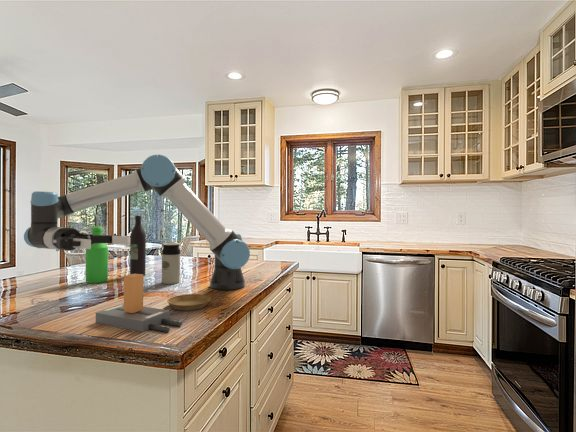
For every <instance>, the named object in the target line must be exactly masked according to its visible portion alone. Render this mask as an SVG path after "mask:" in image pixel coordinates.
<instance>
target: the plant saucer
mask: <svg viewBox="0 0 576 432" xmlns="http://www.w3.org/2000/svg"><path fill="white" fill-rule="evenodd" d="M211 299H212V298H211V296H209V295H207V294H198V293H192V294H191V293H188V294H187V293H186V294H180V295H175V296H172V297H170V298H168V299H166V300H167V304H168V305H170V307H171V308H172V309H174V310H178V311H195V310H200V309H203V308H205V307H206V306H207V305H208V304H209V303H210V301H211Z"/></svg>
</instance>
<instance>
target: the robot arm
mask: <svg viewBox="0 0 576 432" xmlns="http://www.w3.org/2000/svg"><path fill="white" fill-rule="evenodd" d="M185 180H186V179H185V175H183V173H181V172H180V170H179V169H178V168H177V167H176V165H175V164H174V161H172V159H170V158H169V157H168V156H165V155H163V154H153V155H149V156H148V157H147V158H146V159H145V160H143V162H142V164H141V167H138V168H136V169H135V170H134V171H133V172H132V173H130V174H126V175H122V176H119V177H117V178H113V179H110V180H107V181H104V182H100V183H97V184H95V185H91V186H89V187H84V188H82V189H79V190H75V191H72V192H70V193H67V194H62V195H60V196H59V195H58V193H57V192H55V191H33V192H31V197H30V198H31V199H30V226H29V227H28V228H26V230H25V232H24V233H23V239H24V242H25V244H26V245H28V246H29V247H33V248H37V249H49V250H55V251H56V252H60V250H61V251H67V252H69V251H74V250H77V249H81V250H82V249H83V250H86V249H91V245H92V244H94V243H105V244H112V245H121V246H122V245H123V246H129V245H130V243H129V242H130V241H129V240H130V236H123V235H118V234H117V233H113V234H112V235H110V234H102V235H93V234H91V233H90V234H89V233H87V234H86V233H80V231H79V230H78V229H76V228H74V227H63V226H58V225H59V223H58V222H59V221H58V219H62V218H65V217H67V216H68V215H71V214H74V213H78V212H80V211H83V210H84V211H85V210H86V209H89V208H93V207H95V206H98V205H101V204H105V203H108V202H110V201H111V202H112V201H114V200H117V199H120V198H122V197H126V196H128V195H132V194H135V193H137V192H143V193H146V192H149V191H153V190H154V192H155V193H156V194H158V195H159V196H160V198H166V199H168V201H170V203H171V204H172V205H173V206H174V207H175V208H176V209H177V210H178V211H179V212H180V214H182V215H183V216H184V218H186V220H187V221H188V222H189V223H190V224H191V225H192V226H193V228H195V229H196V231H197V232H198V233H199V234H200V235H201V236H202V237H203V238H204V239H205V240H206V241H207V243H208V244H209V250H210V251H211V252H212V253H213V254H214V262H213V263H214V269H213V273H212V275H211V278H210V280H209V281H210V282H209V287H210V288H212V289H214V290H222V291H223V290H224V291H225V290H227V291H229V290H231V291H232V290H239V289H242V288H244V287H245V285H246V281H245V278H244V275H243V270H242V268H243V267H244V266H245V265H247V263H248V262H249V259H250V257H251V254H250V253H251V251H250V248H249V246H248V244H247V243H246V242H245V241H243V239H242V234H239V233H236V232H235V231H234V230H233V229H230V228H228V229H227V228H226V227H225V226H224V225H223V224H222V223H221V222H220V221H219V220H218V218H217V217H216V216H215V215H214V214H213V213H212V211H210V209H209V208H208V207H207V206H206V205H205V204H204V202H202V201H201V199H199V197H198V196H197V195H196V194H195V193H194V191H192V190H191V188H190V187H189V186H188V185H187V183H186V181H185Z"/></svg>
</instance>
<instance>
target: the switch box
mask: <svg viewBox="0 0 576 432" xmlns="http://www.w3.org/2000/svg"><path fill="white" fill-rule="evenodd" d="M95 323H96V324H99V323H100V325H104V324H105V326H110V327H114V328H121V329H125V330H129V331H130V330H131V331H135V332H140V333H143V332H145V331H149V330H154V331H160V332H165V333H168V332H170V331H171V328H170V327H169V325H170V326H174V327H181V326H182V325H183V323H182V321H179V320H174V319H171V310H168V309H163V308H156V307H152V306H151V307H150V306H145V305H143V310H141V311H138V312H135V313H128V312H124V303H123V304H120V305H117V306H113V307H109V308H106V309H103V310H100V311H97V312H95ZM162 324H164V325H162ZM165 325H168V326H165Z"/></svg>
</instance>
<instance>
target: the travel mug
mask: <svg viewBox="0 0 576 432" xmlns="http://www.w3.org/2000/svg"><path fill="white" fill-rule="evenodd" d="M180 244H181V243H180V242H162V246H163V248H162V249H161V284H164V285H175V284H178V283H180V281H181V249H180Z"/></svg>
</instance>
